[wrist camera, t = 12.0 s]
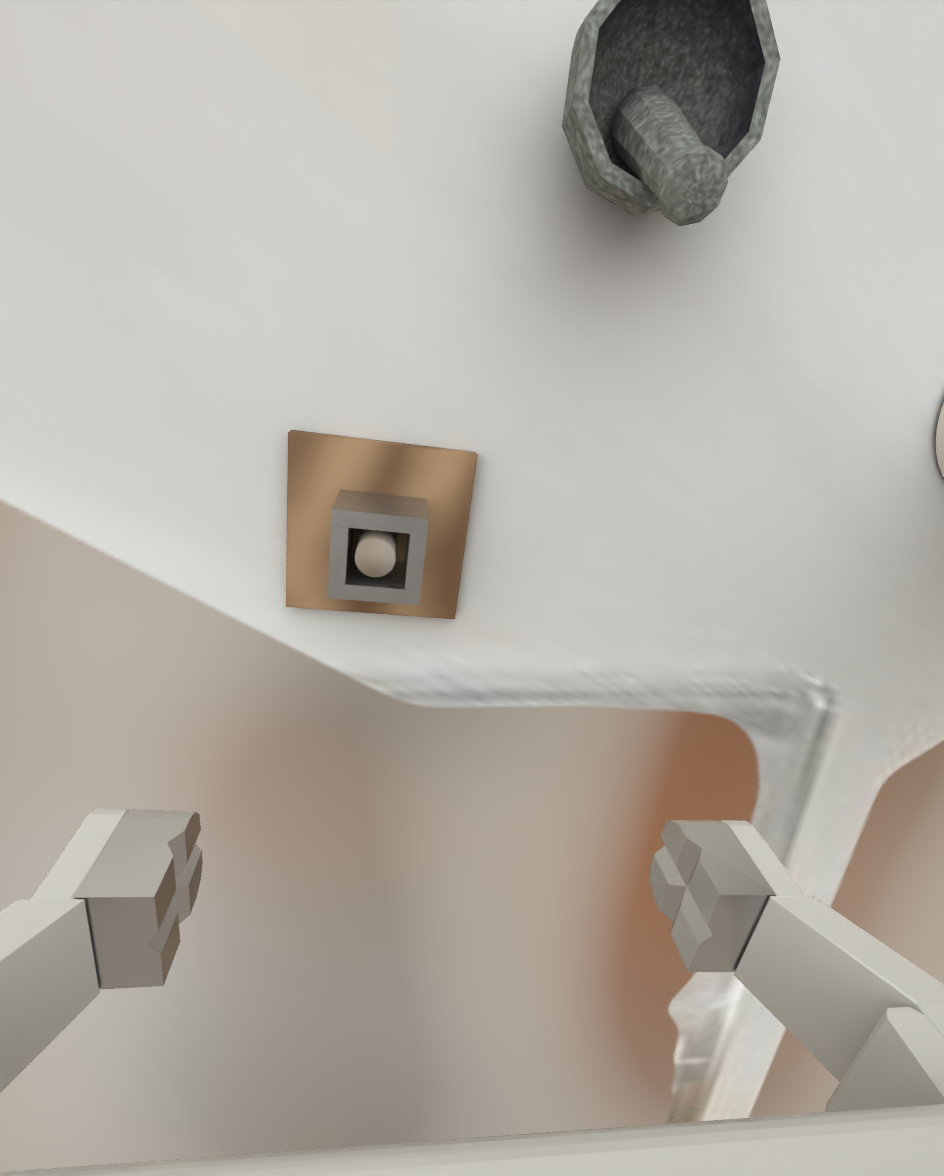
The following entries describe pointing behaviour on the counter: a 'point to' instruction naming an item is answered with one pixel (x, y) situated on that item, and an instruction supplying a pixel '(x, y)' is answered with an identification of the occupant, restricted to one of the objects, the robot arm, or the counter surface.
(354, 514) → the square sleeve
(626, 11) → the mortar and pestle
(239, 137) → the counter surface
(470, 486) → the post block
